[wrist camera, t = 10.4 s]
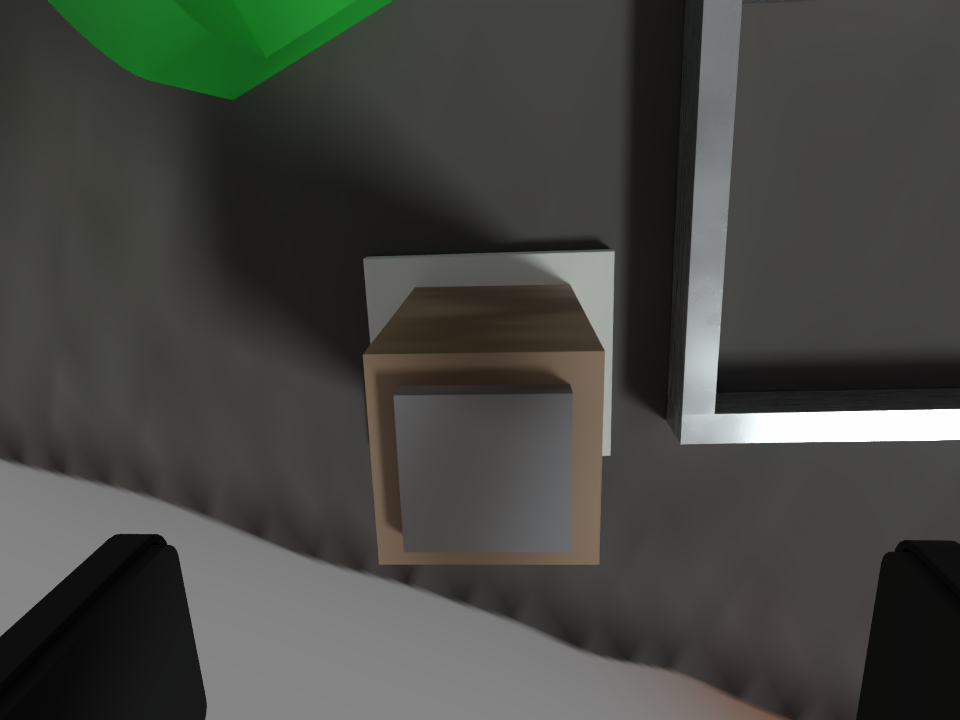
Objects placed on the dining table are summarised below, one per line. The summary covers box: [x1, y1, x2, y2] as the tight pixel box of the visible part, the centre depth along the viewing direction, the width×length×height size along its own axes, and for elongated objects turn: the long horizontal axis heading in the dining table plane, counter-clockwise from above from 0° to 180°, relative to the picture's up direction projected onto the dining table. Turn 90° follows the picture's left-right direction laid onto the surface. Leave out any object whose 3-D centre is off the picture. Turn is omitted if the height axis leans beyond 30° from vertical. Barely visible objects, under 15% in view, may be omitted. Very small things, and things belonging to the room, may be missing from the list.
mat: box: [363, 249, 614, 456], centre depth 22 cm, size 8×7×1 cm
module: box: [363, 284, 605, 565], centre depth 18 cm, size 5×5×9 cm
